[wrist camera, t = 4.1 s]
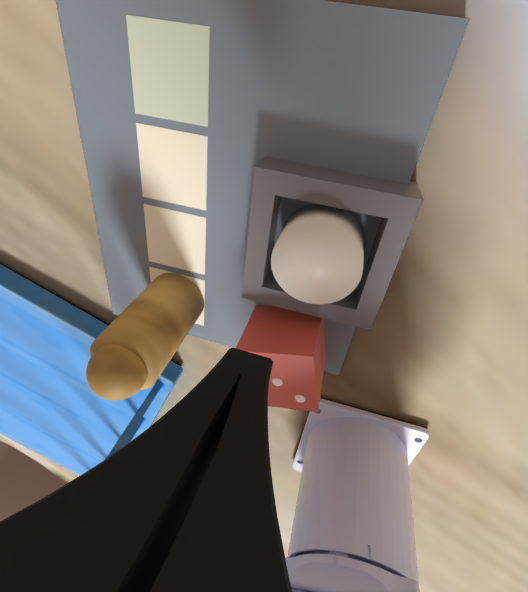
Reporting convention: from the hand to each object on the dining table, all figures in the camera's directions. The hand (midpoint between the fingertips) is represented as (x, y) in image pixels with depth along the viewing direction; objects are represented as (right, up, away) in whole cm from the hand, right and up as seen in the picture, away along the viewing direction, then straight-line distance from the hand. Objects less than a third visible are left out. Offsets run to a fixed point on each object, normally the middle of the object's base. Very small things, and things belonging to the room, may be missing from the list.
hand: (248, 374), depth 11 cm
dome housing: (+4, +6, +7) cm, 10 cm away
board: (-1, +7, +7) cm, 10 cm away
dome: (+3, +5, +6) cm, 9 cm away
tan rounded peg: (-5, +2, +11) cm, 12 cm away
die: (+2, 0, +10) cm, 10 cm away
